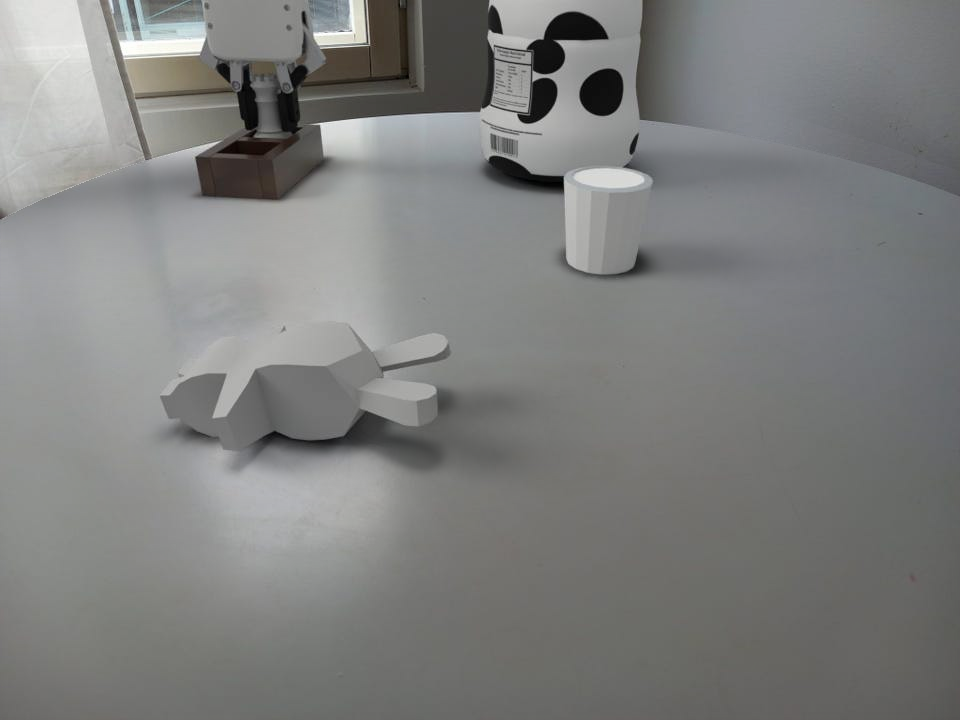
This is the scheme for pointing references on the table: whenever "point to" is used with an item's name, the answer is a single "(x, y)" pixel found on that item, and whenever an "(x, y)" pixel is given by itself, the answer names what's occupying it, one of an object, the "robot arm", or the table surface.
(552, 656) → the table surface
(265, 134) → the rook chess piece
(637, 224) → the shot glass
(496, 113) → the milk container
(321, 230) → the table surface
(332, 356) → the bunny figurine
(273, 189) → the rack
